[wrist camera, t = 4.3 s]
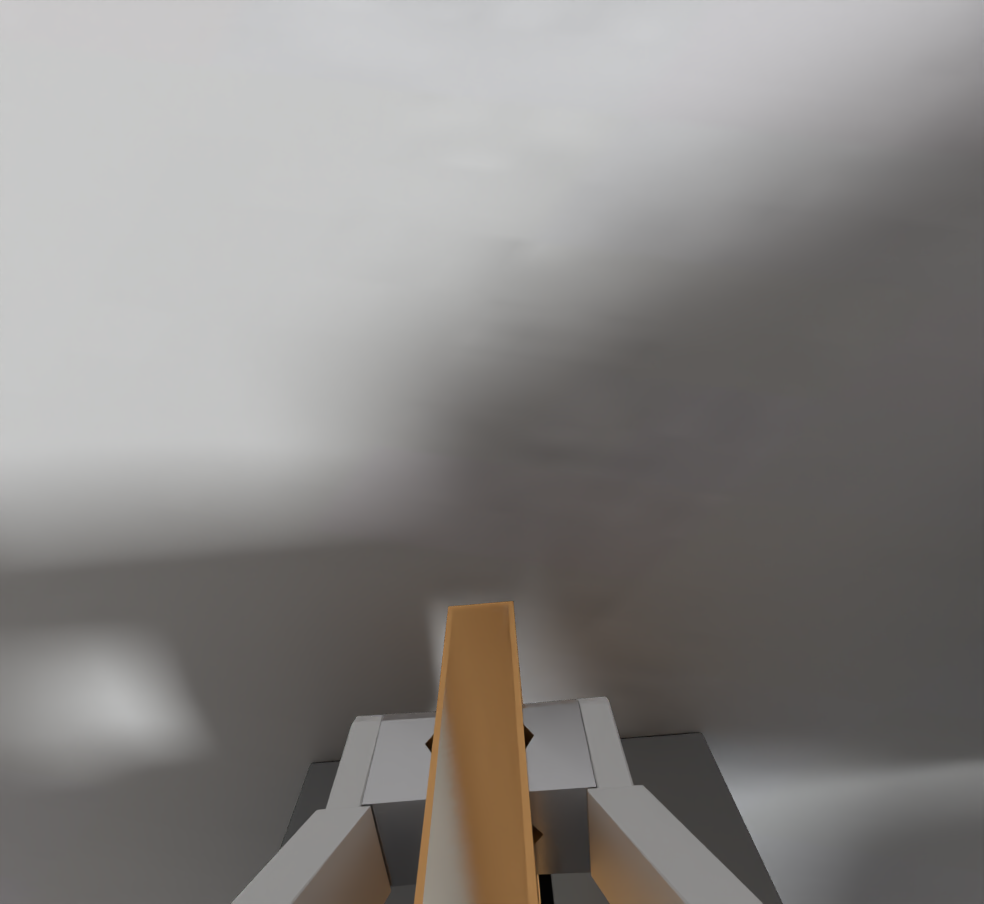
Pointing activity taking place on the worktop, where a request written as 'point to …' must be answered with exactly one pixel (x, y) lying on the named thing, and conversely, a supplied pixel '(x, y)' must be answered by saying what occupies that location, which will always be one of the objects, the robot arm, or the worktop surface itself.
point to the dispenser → (652, 763)
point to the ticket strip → (478, 769)
